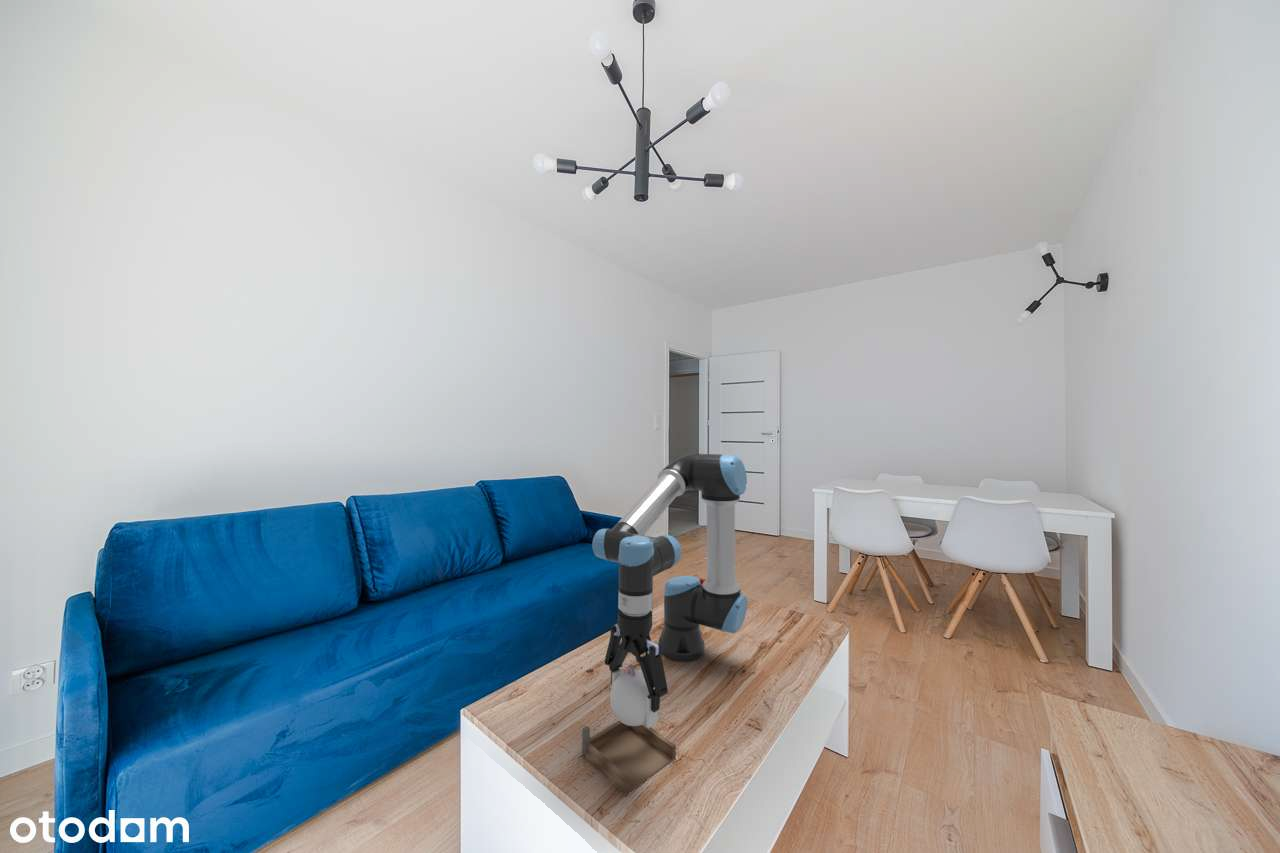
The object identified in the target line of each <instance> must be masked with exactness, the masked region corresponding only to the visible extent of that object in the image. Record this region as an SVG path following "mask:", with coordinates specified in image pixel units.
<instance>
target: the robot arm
mask: <svg viewBox="0 0 1280 853" xmlns="http://www.w3.org/2000/svg"><path fill="white" fill-rule="evenodd" d="M746 471H747V470H746V467H745V464H744V463H743V460H742V459H741V458H739V457H738V456H736V455H730V454H723V453H722V454H719V453H689V454H685V455H681V456H680V457H678V458H676V459H675V460H673V461H671V462H670V463H668V464H667V465H666V466H665V467H664V468H663V469H662V470H660V471H659V473H658V475H657V480H656V481H655V482H654V483H653V484H652V485H651V486H650V488H649V489H648V490H646V492H645V493H644V494H643V495H642V496H641V497H640V498H639V499H638V500H637V502H636V503H634V505H632V507H631V508H630V509H629V510H628V511H627V512H626V513H625V515H623V517H621V519H619V520H618V522H617V523H616V524H615V525H614V526H613V527H611V529H610V528H601V529H598V530H597V531H596V532H595V534H594V535H593V538H592V543H591V544H592V546H591V547H592V551H593V553H594V555H595V556H596V557H597V558H600V559H602V560H605V561H607V562H615V563H618V603H617V604H618V606H617V608H618V611H617V623H615V624H614V625H613V624H612V625H610V637H609V642H608V645H607V649H606V654H605V658H604V664H605V665H606V666H609V671H610V685H611V687H612V686H613V683H614V681H615V680H616V678H617V677H618V676H619V675H620V674H621V673H623V672H624V669H623V668H622V667H623V663H624V661H625V660H626V658H627V657H628V654H629V653H630V654H632V655H633V656H634V657H635V660H636V662H637V663H638V664H639V666H640V669H641V671H642V673H643V676H644V679H645V682H646V685H647V688H648V691H649V694H647V695H646V727H647V728H650V727H651V728H652V727H653V726H655V725H656V724H657V723H658V722H659V720H658V719H659V717H658V716H659V715H658V714H659V710H660V708H661V704H660V703H661V698H662V697H664V696H665V695H666V694H668V693H669V689H668V685H667V679H666V674H665V669H664V662H663V658H666V659H667V660H671V661H676V662H679V663H680V662H681V663H682V662H684V663H687V662H693V661H696V660H699V659H701V658H702V657H703V656H704V655H705V651H706V649H705V647H706V646H705V641H704V639H703V636H702V631H701V626H703V627H707V628H711V629H714V630H718V631H721V632H722V633H725V632H726V633H729V634H737V632H739V630H741V628H742V626H743V625H744V622H745V618H746V615H747V610H748V603H749V602H748V596H747V595H746V594H744V593H741V585H740V584H739V583H738V582H739V581H737V580H736V516H735V515H736V507H735V506H736V504H737V503H738V502H739V501H740V498H741V497H740V496H741V495H744V493H746V490H747V483H748V481H747V480H748V479H747V472H746ZM687 491H698V492H701V500H702V501H703V502H704V503H705V504H706V568H707V569H706V572H707V574H706V575H707V576H706V578H707V579H705V580H706V581H704V582H703V585H700V584H701V582H700V579H701V578H700V577H697V576H694V575H680V576H675V577H672V578H669V579H668V580H666V582H665V583H664V592H663V600H664V601H663V605H664V606H663V607H664V608H663V627H662V630H661V633H660V637H659V639H658V642H656V643H655V642H653V641H652V640H651V637H650V636H651V635H650V634H651V631H652V628H653V611H652V610H653V605H654V604H653V597H654V594H653V592H654V588H653V586H654V584H653V583H654V576H657V575H658V574H661V573H662V572H664V571H667V570H668V569H672V568H673V567H674V565H676V564H677V563H678V562H679V561H680V559H681V557H682V547H681V544H680V542H679V540H677V538H675V537H674V536H672V535H669V534H668V535H667V534H664V535H659V536H658V537H657V536H656V537H654V536H648V535H646V534H647V532H648V531H649V530H650V529H651V528H652V527H653V525H655V523H656V522H657V520H658V519H659V518H660V517H662V514H663V513H664V512H665V511H666V510H667V508H668V507H670V505H671V504H672V503H673V501H674V500H675V499H676V497H680V496H682V495H683V494H685V492H687ZM699 578H700V579H699ZM641 655H642V656H641ZM662 656H663V657H662ZM654 688H655V689H654Z"/></svg>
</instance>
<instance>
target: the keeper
mask: <svg viewBox="0 0 1280 853" xmlns="http://www.w3.org/2000/svg"><path fill="white" fill-rule="evenodd" d="M590 732H591V729H590V726H587V725H586V726H583V727H582V732H581V733H582V736H581V737H582V738H581V739H582V743H581V744H582V745H581V748H582V749H581V752H582V753H581V756H582V757H583V758H586V759H587V760H588V761H589V762H590V763H591V765H593V766H594V767H595V768H596V769H597V770H598V771H599V770H600V771H601V772H602V773H603V774H604V775H605V778H606V779H608V778H609V779H610V780H611V781H612V782H613V783H614V784H615V785H616V786H617V787H618V788H620V789H621V791H622V792H623V793H624V794H626V795H628V794H629V793H630V792H631V793H633V792H634V791H635V790H636V788H637V787H638V788H639V787H640V786H642V785H643V784H644V783H646V782H647V781H648V780H649V779H648V778H650V777H651V776H652V777H654V776H655V775H656V774H657V773H659V772H660V771H661V770H663V769H664V768H665V767H666V766H668V765H669V764H670V763H671V762H673V761H674V760H675V759H676V756H677V753H676V752H677V751H676V748H677V746H676V744H675V743H674V742H672V741H670V740H669V739H668V738H666V737H665V736H664V735H662V734H661V733H659V732H658V731H657V730H656V729H654V728H652V726H651V727H650V728H647V727H646V723H644V724H642V725H639V726H628V725H625V724H623V723H622V722H620V721H619V720H617V721H616V722H614V723H612V724H611V725H609V726H607V727H605V728H604V729H602V730H600V731H599V732H597V733H596V734H594V735H593V736H590V735H591V734H590ZM600 771H599V772H600ZM601 772H600V773H601ZM602 773H601V774H602ZM655 773H656V774H655ZM603 774H602V775H603ZM654 774H655V775H654ZM604 775H603V776H604ZM652 777H651V778H652ZM651 778H650V779H651ZM609 779H608V780H609ZM647 779H648V780H647ZM610 780H609V781H610ZM646 780H647V781H646ZM611 781H610V782H611ZM645 781H646V782H645ZM612 782H611V783H612ZM613 783H612V784H613ZM642 783H643V784H642ZM614 784H613V785H614ZM641 784H642V785H641ZM615 785H614V786H615ZM616 786H615V787H616ZM617 787H616V788H617ZM618 788H617V789H618ZM638 788H637V789H638ZM634 789H635V790H634ZM633 790H634V791H633ZM621 791H620V792H621ZM632 791H633V792H632ZM622 792H621V793H622ZM623 793H622V794H623ZM631 793H630V794H631ZM624 794H623V795H624ZM630 794H629V795H630ZM629 795H628V796H629Z"/></svg>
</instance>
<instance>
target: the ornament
mask: <svg viewBox="0 0 1280 853" xmlns="http://www.w3.org/2000/svg"><path fill="white" fill-rule="evenodd" d="M654 689H655V688H654ZM647 694H649V691H648V688H647V685H646V682H645V679H644V676H643V673H642V670H640V669H635V667H634V665H633V664H631V663H630V664H629V665H627V669H626V670H625V671H623V673H621V674H620V675H619V676H618V677H617V678H616V680H615V681H614V683H613V686H612V685H611V690H610V694H609V704H610V709H611V711H612V713H613V715H614V716H615V718H616V719H617V721H620V722H622V723H623V724H625V725H628V726H639V725H642V724H644V723H646V695H647Z"/></svg>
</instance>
